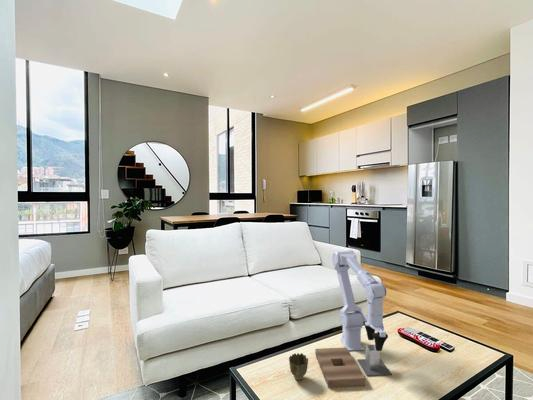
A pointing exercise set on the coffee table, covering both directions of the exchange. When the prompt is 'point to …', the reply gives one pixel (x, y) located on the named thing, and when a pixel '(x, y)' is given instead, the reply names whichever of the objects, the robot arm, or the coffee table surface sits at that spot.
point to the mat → (378, 372)
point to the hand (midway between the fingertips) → (374, 344)
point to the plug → (372, 357)
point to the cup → (298, 365)
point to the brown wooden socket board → (339, 368)
